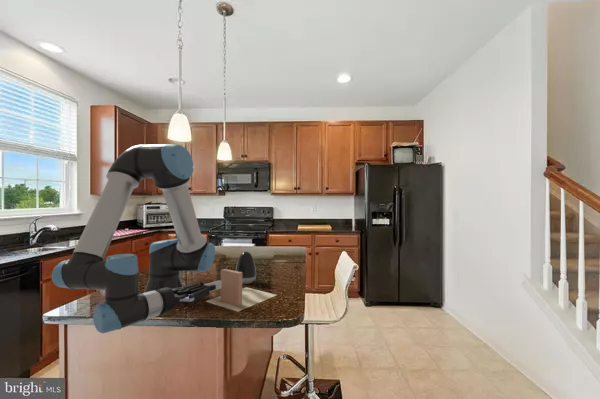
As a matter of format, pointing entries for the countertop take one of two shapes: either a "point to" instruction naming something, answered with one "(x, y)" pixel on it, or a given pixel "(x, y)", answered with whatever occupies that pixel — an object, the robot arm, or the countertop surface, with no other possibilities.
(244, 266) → the black glossy egg shape
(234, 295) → the tile
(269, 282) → the countertop surface
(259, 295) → the cloth
